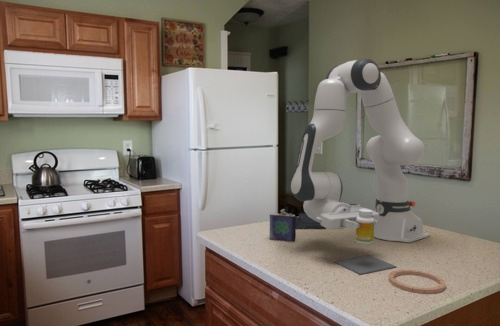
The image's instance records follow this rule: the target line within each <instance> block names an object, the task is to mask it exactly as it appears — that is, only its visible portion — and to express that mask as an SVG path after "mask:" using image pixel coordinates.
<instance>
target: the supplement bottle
mask: <svg viewBox="0 0 500 326" xmlns="http://www.w3.org/2000/svg"><path fill="white" fill-rule="evenodd" d="M368 209H369V208H367V209H360V210H359V216H358V217H357V218H356V222H359V223H360V228H358V229H355V237H354V238H355V239H354V240H355V241H356V242H357V243H359V244H364V245H366V244H367V245H369V244H373V243H374V240H375V239H374V238H375V237H374V218H372V217H371V216H372V209H370V210H368Z"/></svg>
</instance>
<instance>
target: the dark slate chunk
mask: <svg viewBox="0 0 500 326" xmlns="http://www.w3.org/2000/svg"><path fill="white" fill-rule="evenodd" d="M295 217H296V230H326V229H327V228H325V227H323V226H322V225H320V222H317V221H315V220H313V219H311V218H310V217H308V216H307V214H306V213H298V216H295Z"/></svg>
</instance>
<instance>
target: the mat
mask: <svg viewBox="0 0 500 326" xmlns="http://www.w3.org/2000/svg"><path fill="white" fill-rule="evenodd" d="M333 263H334V264H337V265H339V266H341V267H342V268H345V269H347V270H349V271H351V272H353V273H355V274H357V275H360V276H362V275H367V274H371V273H376V272H380V271H385V270H389V269H396V268H397V265H394V264H392V263H390V262H387V261H385V260H383V259H380V258H378V257H375V256H373V255H371V254H363V255H358V256H354V257H353V256H351V257H347V258H343V259H337V260H333Z"/></svg>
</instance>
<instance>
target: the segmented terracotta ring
mask: <svg viewBox="0 0 500 326" xmlns="http://www.w3.org/2000/svg"><path fill="white" fill-rule="evenodd" d="M404 275H412V276H420V277H422V278H423V277H425V278H428V279H430V280H432V279H433V281H435V282H436V283H437V284H438V286H433V287H418V286H412V285H409V284H405V283H402V282H400V281H398V280H397V279H396V277H398V276H404ZM388 282H389V283H390V284H391V285H392V286H394V287H396V288H398V289H400V290H403V291H407V292H411V293H416V294H422V295H423V294H426V295H427V294H429V295H430V294H437V293H442V292H443V291H444V290H445V289H446V287H447V284H446V282H445V280H444V279H443V278H442V277H440V276H438V275H436V274H433V273H431V272H428V271H427V272H426V271H423V270H416V269H398V270H393V271H392V272H390V273H389V274H388Z"/></svg>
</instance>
